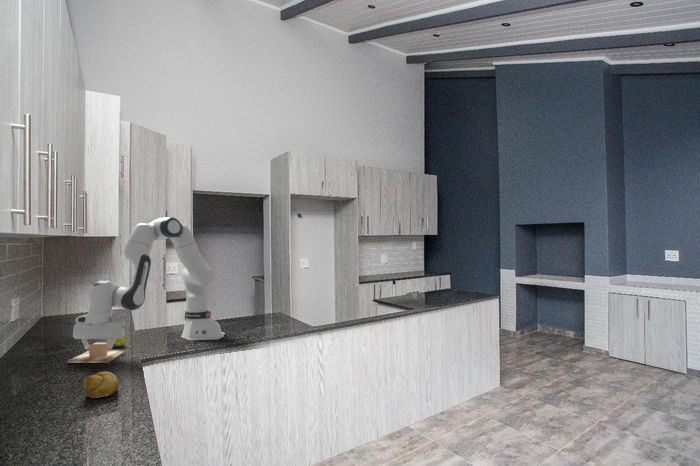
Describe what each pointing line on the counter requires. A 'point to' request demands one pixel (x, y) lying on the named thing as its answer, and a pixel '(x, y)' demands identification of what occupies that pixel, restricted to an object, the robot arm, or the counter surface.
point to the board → (104, 359)
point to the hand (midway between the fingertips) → (98, 348)
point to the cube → (98, 349)
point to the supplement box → (118, 341)
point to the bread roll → (100, 384)
